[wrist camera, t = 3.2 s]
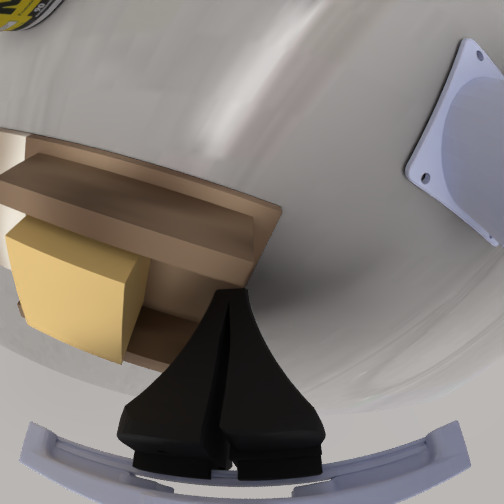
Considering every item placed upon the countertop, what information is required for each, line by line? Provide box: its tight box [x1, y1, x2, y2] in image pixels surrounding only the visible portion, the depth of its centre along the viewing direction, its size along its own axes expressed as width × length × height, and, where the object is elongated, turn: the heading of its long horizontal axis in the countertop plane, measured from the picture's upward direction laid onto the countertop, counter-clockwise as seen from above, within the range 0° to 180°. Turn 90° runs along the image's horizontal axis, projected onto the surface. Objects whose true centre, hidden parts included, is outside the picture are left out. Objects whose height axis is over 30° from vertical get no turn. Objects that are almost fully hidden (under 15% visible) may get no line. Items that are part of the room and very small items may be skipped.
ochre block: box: [5, 215, 151, 365], centre depth 10 cm, size 5×5×4 cm
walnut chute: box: [0, 128, 282, 373], centre depth 10 cm, size 20×9×4 cm, turn 69°
